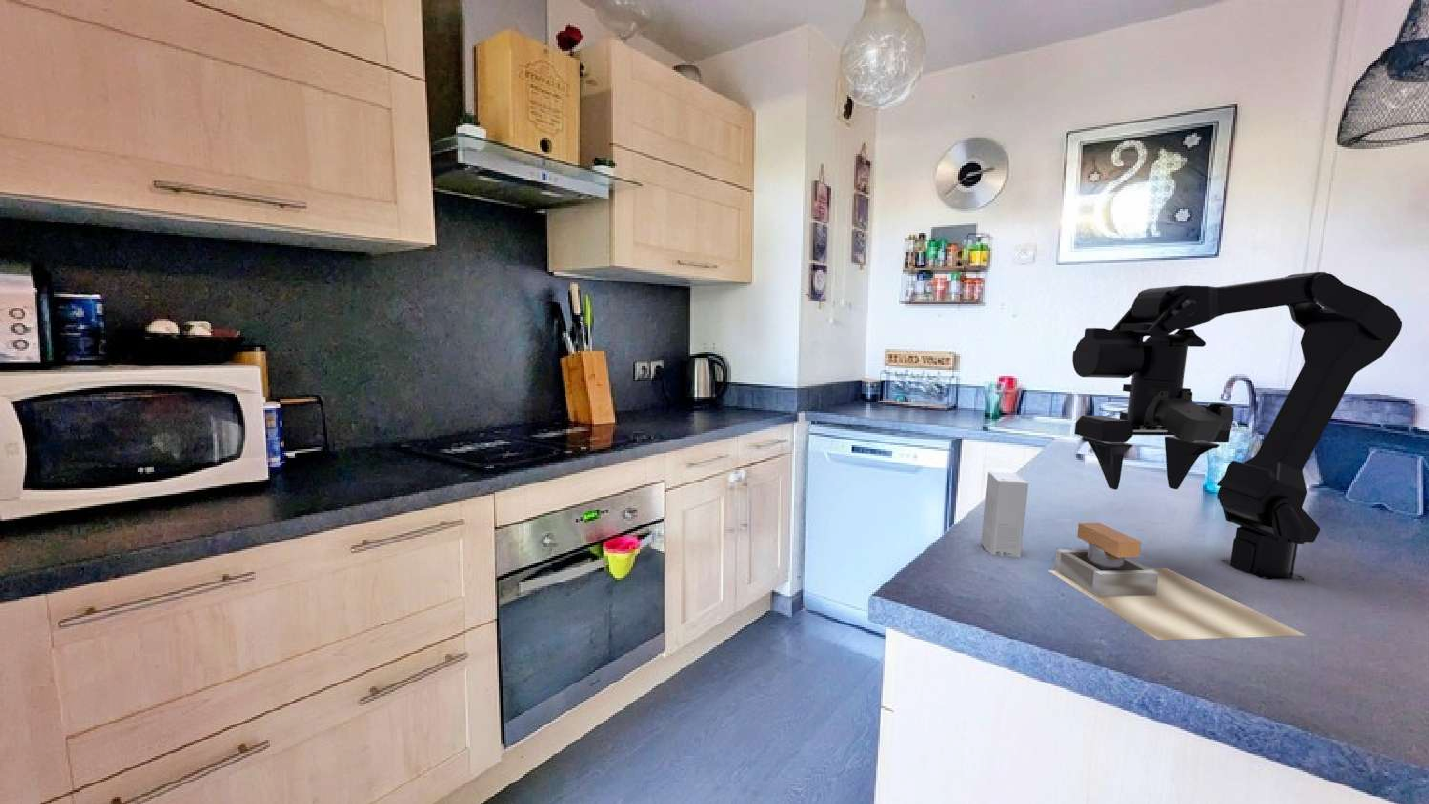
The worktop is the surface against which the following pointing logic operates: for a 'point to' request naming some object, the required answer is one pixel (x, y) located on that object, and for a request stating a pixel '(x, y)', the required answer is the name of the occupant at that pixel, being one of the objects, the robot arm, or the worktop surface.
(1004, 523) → the skincare box
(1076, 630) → the worktop surface
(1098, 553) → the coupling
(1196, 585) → the base
